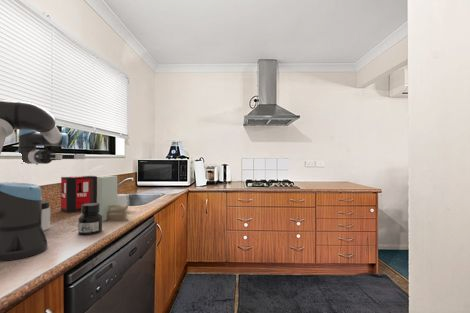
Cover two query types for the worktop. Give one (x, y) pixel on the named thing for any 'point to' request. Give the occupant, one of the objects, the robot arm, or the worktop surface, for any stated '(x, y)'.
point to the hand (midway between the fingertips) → (73, 156)
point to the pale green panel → (106, 194)
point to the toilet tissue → (121, 199)
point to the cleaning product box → (77, 192)
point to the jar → (45, 215)
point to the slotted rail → (118, 212)
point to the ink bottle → (90, 219)
